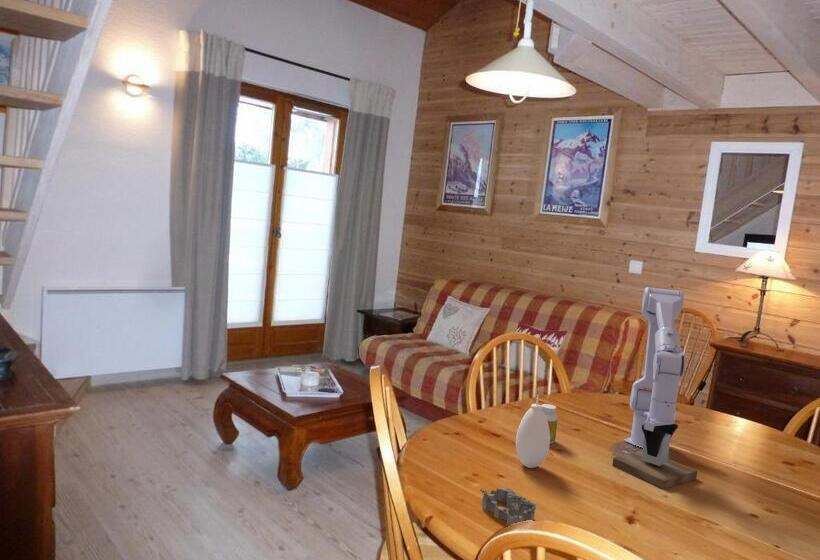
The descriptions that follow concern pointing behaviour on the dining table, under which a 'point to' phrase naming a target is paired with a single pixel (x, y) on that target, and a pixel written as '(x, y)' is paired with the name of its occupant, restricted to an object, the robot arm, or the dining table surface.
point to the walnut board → (655, 470)
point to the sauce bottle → (533, 437)
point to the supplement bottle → (551, 420)
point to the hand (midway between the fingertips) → (656, 453)
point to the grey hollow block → (508, 505)
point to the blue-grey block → (662, 452)
